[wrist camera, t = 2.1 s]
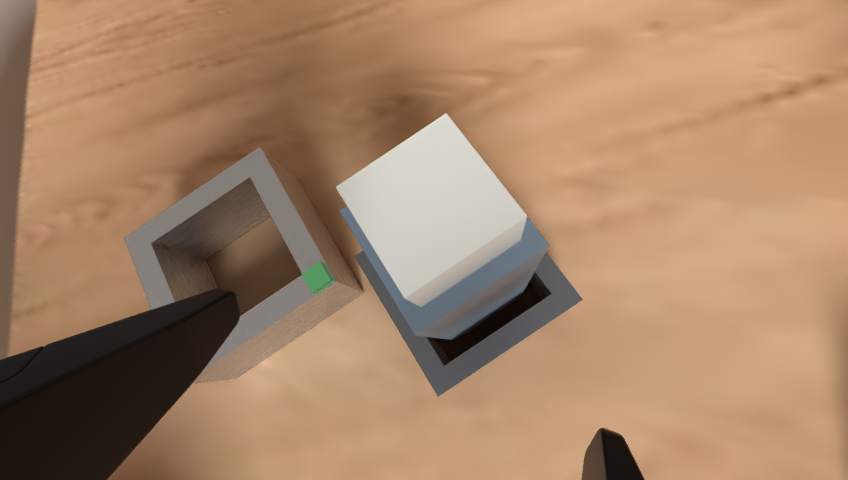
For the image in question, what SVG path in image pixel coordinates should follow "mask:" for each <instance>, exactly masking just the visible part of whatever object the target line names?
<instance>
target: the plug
mask: <svg viewBox="0 0 848 480" xmlns="http://www.w3.org/2000/svg"><path fill="white" fill-rule="evenodd" d="M336 189H337V190H338V192H339V193H340V195H341V197H342V198H343V200H344V202H345V203H346V205H347V206H346V207H344V208H343V209H341V210H340V213H341V214H342V216H343V218H344V219H345V221H346V222H347V224H348V226H349V227H350V229H351V231H352V232H353V234H354V236H355V237H356V239H357V241H358V242H359V244H360V245H361V247H362V249H363V250H364V252H365V254H366V255H367V257H368V259H369V260H370V262H371V264H372V265H373V267H374V269H375V270H376V272H377V273H378V275H379V277H380V278H381V280H382V282H383V283H384V285H385V287H386V288H387V290H388V292H389V293H390V295H391V297H392V298H393V300H394V301H395V303H396V305H397V306H398V308H399V310H400V311H401V313H402V315H403V316H404V318H405V320H406V321H407V323H408V325H409V326H410V328H411V329H412V331H413V333H414V334H415V336H423V337H431V338H440V339H448V340H457V339H458V338H460V337H461V336H463V335H464V334H466V333H467V332H469V331H470V330H472V329H473V328H475V327H476V326H478V325H479V324H481V323H482V322H484V321H485V320H487V319H488V318H490V317H491V316H493V315H494V314H496V313H497V312H498V311H500V310H501V309H503V308H504V307H506V306H507V305H509V304H510V303H512V302H513V301H515V300H516V299H518V298H519V297H521V295H522V293H523V292H524V290H525V288H526V286H527V285H528V283H529V281H530V279H531V278H532V276H533V274H534V272H535V270H536V269H537V267H538V265H539V263H540V262H541V260H542V258H543V256H544V255H545V253H546V251H547V249H548V248H549V246H550V245H549V244H548V242H547V241H546V240H545V239H544V237H543V236H542V235H541V234H540V232H539V231H538V230H537V228H536V227H535V226H534V225H533V223H532V222H531V221H530V220H529V218H528V217H527V215H526V214H525V213H524V211H523V210H522V209H521V207H520V206H519V205H518V204H517V202H516V201H515V200H514V199H513V197H512V196H511V195H510V193H509V192H508V191H507V190H506V188H505V187H504V186H503V185H502V183H501V182H500V181H499V180H498V178H497V177H496V176H495V174H494V173H493V172H492V171H491V169H490V168H489V167H488V166H487V164H486V163H485V162H484V160H483V159H482V158H481V157H480V155H479V154H478V153H477V152H476V150H475V149H474V148H473V146H472V145H471V144H470V143H469V141H468V140H467V139H466V138H465V136H464V135H463V134H462V132H461V131H460V130H459V129H458V127H457V126H456V125H455V124H454V122H453V121H452V120H451V119H450V117H449V116H448V115H447V113H445V114H444V115H442V116H441V117H439V118H438V119H436V120H435V121H433V122H432V123H430V124H429V125H427V126H426V127H424V128H423V129H421V130H420V131H419V132H417V133H416V134H414V135H413V136H411V137H410V138H408V139H407V140H405V141H404V142H402V143H401V144H399V145H398V146H396V147H395V148H393V149H392V150H390V151H389V152H387V153H386V154H384V155H383V156H381V157H380V158H378V159H377V160H375V161H374V162H372V163H371V164H369V165H368V166H366V167H365V168H363V169H362V170H360V171H359V172H357V173H356V174H354V175H353V176H351V177H350V178H348V179H347V180H345V181H344V182H342V183H341V184H339V185H338V186H336Z"/></svg>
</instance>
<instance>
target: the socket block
mask: <svg viewBox="0 0 848 480" xmlns="http://www.w3.org/2000/svg"><path fill="white" fill-rule="evenodd" d="M270 216H271V217H272V219H273V221H274V222H275V224H276V226H277V228H278V230H279V232H280V234H281V235H282V237H283V239H284V241H285V243H286V245H287V247H288V248H289V250H290V252H291V254H292V256H293V258H294V260H295V261H296V263H297V265H298V267H299V269H300V271H301V274H302V275H301V276H299V277H298V278H296V279H295V280H293V281H292V282H290V283H289V284H287V285H286V286H284V287H283V288H281V289H280V290H278V291H277V292H275V293H274V294H272V295H271V296H269V297H268V298H267V299H265V300H264V301H262V302H261V303H259V304H258V305H256V306H255V307H253V308H252V309H250V310H249V311H247V312H246V313H244V314H243V315H241V316H240V319H239V322H238V324H237V325H236V327H235V328H234V329H233V331H232V332H231V333H230V335H229V336H228V338H227V339H226V340H225V342H224V343H223V344H222V346H221V347H220V348H219V350H218V351H217V353H216V354H215V355H214V357H213V358H212V359H211V361H210V362H209V364H208V365H207V366H206V367H205V369H204V370H203V371H202V373H201V374H200V375H199V376H198V377H197V379H196V380H195V381H194V382H193V383H192V384H197V383H204V382H212V381H220V380H228V379H235V378H237V377H239V376H240V375H242V374H243V373H245V372H246V371H248V370H249V369H251V368H252V367H254V366H255V365H256V364H258V363H259V362H261V361H262V360H264V359H265V358H267V357H268V356H270V355H271V354H273V353H274V352H276V351H277V350H279V349H280V348H282V347H283V346H285V345H286V344H288V343H289V342H291V341H292V340H294V339H295V338H297V337H298V336H300V335H301V334H303V333H304V332H306V331H307V330H309V329H310V328H312V327H313V326H315V325H316V324H318V323H319V322H321V321H322V320H324V319H325V318H327V317H328V316H330V315H331V314H333V313H334V312H336V311H337V310H339V309H340V308H342V307H343V306H345V305H346V304H348V303H349V302H351V301H352V300H354V299H355V298H357V297H358V296H360V295H361V294H362V293H364V292H363V290H362V288H361V287H360V285H359V283H358V282H357V280H356V278H355V276H354V275H353V273H352V271H351V270H350V268H349V266H348V264H347V263H346V261H345V259H344V258H343V256H342V254H341V253H340V251H339V249H338V247H337V246H336V244H335V242H334V241H333V239H332V237H331V235H330V234H329V232H328V230H327V229H326V227H325V225H324V223H323V222H322V220H321V218H320V217H319V215H318V213H317V211H316V210H315V208H314V206H313V205H312V203H311V201H310V199H309V198H308V196H307V194H306V193H305V191H304V189H303V188H302V186H301V184H300V182H299V181H298V179H297V177H295V176H294V175H293V174H292V173H291V172H289V171H288V170H287V169H286V168H285V167H284V166H282V165H281V164H280V163H279V162H278V161H277V160H275V159H274V158H273V157H272V156H271V155H270V154H268V153H267V152H266V151H265V150H264V149H262V148H261V147H259V148H257V149H256V150H254V151H253V152H251V153H250V154H248V155H247V156H245V157H244V158H242V159H241V160H239V161H238V162H236V163H235V164H233V165H232V166H230V167H229V168H227V169H226V170H224V171H223V172H221V173H220V174H218V175H217V176H215V177H214V178H212V179H211V180H209V181H208V182H206V183H205V184H203V185H202V186H200V187H199V188H197V189H196V190H194V191H193V192H191V193H190V194H188V195H187V196H185V197H184V198H182V199H181V200H179V201H178V202H176V203H175V204H173V205H172V206H170V207H169V208H167V209H166V210H164V211H163V212H161V213H160V214H158V215H157V216H155V217H154V218H152V219H151V220H149V221H148V222H147V223H145V224H144V225H142V226H141V227H139V228H138V229H136V230H135V231H133V232H132V233H130V234H129V235H127V236H126V237H124V240H125V242H126V245H127V247H128V250H129V253H130V255H131V258H132V260H133V263H134V266H135V268H136V271H137V273H138V276H139V278H140V281H141V284H142V286H143V289H144V291H145V294H146V297H147V299H148V302H149V304H150V307H151V310H152V309H155V308H158V307H161V306H164V305H167V304H170V303H173V302H176V301H179V300H182V299H185V298H188V297H191V296H194V295H197V294H200V293H203V292H206V291H209V290H212V289H215V288H218V286H217V284H216V281H215V279H214V277H213V275H212V273H211V270H210V268H209V266H208V264H207V262H206V259H207V258H209V257H210V256H212V255H213V254H215V253H216V252H218V251H219V250H221V249H222V248H224V247H225V246H226V245H228V244H229V243H231V242H232V241H234V240H235V239H237V238H238V237H240V236H241V235H243V234H244V233H246V232H247V231H249V230H250V229H252V228H253V227H255V226H256V225H258V224H259V223H261V222H262V221H264V220H265V219H267V218H268V217H270Z"/></svg>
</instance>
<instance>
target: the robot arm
mask: <svg viewBox="0 0 848 480" xmlns="http://www.w3.org/2000/svg"><path fill="white" fill-rule="evenodd" d="M239 319H240V311H239V306H238V301H237V296H236V294H235V292H233V291H231V290H228V289H225V288H221V287H219V288H215V289H212V290H209V291H206V292H203V293H200V294H197V295H194V296H191V297H188V298H185V299H182V300H179V301H176V302H173V303H170V304H167V305H164V306H161V307H158V308H155V309H152V310H149V311H146V312H143V313H140V314H137V315H134V316H131V317H128V318H125V319H122V320H119V321H116V322H113V323H110V324H107V325H104V326H101V327H98V328H95V329H92V330H89V331H86V332H83V333H80V334H77V335H74V336H71V337H68V338H65V339H62V340H59V341H56V342H53V343H50V344H48V345H46V346H45V347H44V346H41V347H38V348H35V349H32V350H29V351H26V352H23V353H20V354H17V355H14V356H11V357H8V358H5V359H2V360H0V480H107V479H108V478H109V477H110V476H111V475H112V474H113V472H114V471H115V470H116V469H117V468H118V467H119V466H120V464H121V463H122V462H123V461H124V460H125V459H126V458H127V457H128V455H129V454H130V453H131V452H132V451H133V450H134V449H135V448H136V446H137V445H138V444H139V443H140V442H141V441H142V440H143V439H144V437H145V436H146V435H147V434H148V433H149V432H150V431H151V430H152V428H153V427H154V426H155V425H156V424H157V423H158V422H159V420H160V419H161V418H162V417H163V416H164V415H165V414H166V413H167V411H168V410H169V409H170V408H171V407H172V406H173V405H174V404H175V402H176V401H177V400H178V399H179V398H180V397H181V396H182V395H183V393H184V392H185V391H186V390H187V389H188V388H189V387H190V386H191V384H192V383H193V382H194V381H195V380H196V379H197V377H198V376H199V375H200V374H201V373H202V371H203V370H204V369H205V367H206V366H207V365H208V364H209V362H210V361H211V359H212V358H213V357H214V355H215V354H216V353H217V351H218V350H219V348H220V347H221V346H222V344H223V343H224V342H225V340H226V339H227V338H228V336H229V335H230V333H231V332H232V331H233V329H234V328H235V327H236V325H237V324H238V322H239ZM582 480H645V479H644V477H643V475H642V473H641V471H640V469H639V467H638V465H637V463H636V461H635V459H634V457H633V455H632V453H631V451H630V449H629V447H628V445H627V443H626V441H625V439H624V438H623V436H622V435H620V434H619V433H616V432H613V431H611V430H608V429H605V428H600V429H599V430H598V431H597V433H596V435H595V436H594V438H593V440H592V441H591V443H590V445H589V446H588V448H587V450H586V453H585V457H584V464H583V473H582Z"/></svg>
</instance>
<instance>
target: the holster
mask: <svg viewBox="0 0 848 480" xmlns="http://www.w3.org/2000/svg"><path fill="white" fill-rule="evenodd" d="M355 258H356V260H357V261H358V263H359V265H360V266H361V268H362V270H363V271H364V273H365V275H366V276H367V278H368V280H369V282H370V283H371V285H372V287H373V288H374V290H375V292H376V293H377V295H378V297H379V298H380V300H381V302H382V303H383V305H384V307H385V308H386V310H387V312H388V313H389V315H390V317H391V318H392V320H393V322H394V324H395V325H396V327H397V329H398V330H399V332H400V334H401V335H402V337H403V339H404V340H405V342H406V344H407V345H408V347H409V349H410V350H411V352H412V354H413V355H414V357H415V359H416V360H417V362H418V364H419V365H420V367H421V369H422V371H423V372H424V374H425V376H426V377H427V379H428V381H429V382H430V384H431V386H432V387H433V389H434V391H435V392H436V394H437V396H440V395H441V394H443V393H444V392H446V391H447V390H449V389H450V388H452V387H453V386H455V385H456V384H458V383H459V382H461V381H462V380H464V379H465V378H467V377H468V376H470V375H471V374H472V373H474V372H475V371H477V370H478V369H480V368H481V367H483V366H484V365H486V364H487V363H489V362H490V361H492V360H493V359H495V358H496V357H498V356H499V355H501V354H502V353H504V352H505V351H507V350H508V349H510V348H511V347H513V346H514V345H516V344H517V343H519V342H520V341H522V340H523V339H525V338H526V337H528V336H529V335H531V334H532V333H534V332H535V331H537V330H538V329H540V328H541V327H543V326H544V325H546V324H547V323H548V322H550V321H551V320H553V319H554V318H556V317H557V316H559V315H560V314H562V313H563V312H565V311H566V310H568V309H569V308H571V307H572V306H574V305H575V304H577V303H578V302H580V301H581V300H583V299H582V298H581V297H580V295H579V294H578V293H577V292H576V290H575V289H574V288H573V286H572V285H571V284H570V283H569V281H568V280H567V279H566V277H565V276H564V275H563V274H562V272H561V271H560V270H559V268H558V267H557V266H556V265H555V263H554V262H553V261H552V259H551V258H550V257H549V256H548V254H547V253H545V255H544V256H543V258H542V260H541V262H540V263H539V265H538V267H537V269H536V270H535V272H534V274H533V276H532V278H531V279H530V281H529V282H530V284H531V285H532V286H533V288H534V289H535V290H536V292H537V293H538V294H539V296H540V297H541V298H542V301H540V302H539V303H537V304H536V305H534V306H533V307H531V308H530V309H528V310H527V311H525V312H524V313H522V314H521V315H519V316H518V317H516V318H515V319H513V320H512V321H510V322H509V323H507V324H506V325H504V326H503V327H501V328H500V329H498V330H497V331H495V332H494V333H493V334H491V335H490V336H488V337H487V338H485V339H484V340H482V341H481V342H479V343H478V344H476V345H475V346H473V347H472V348H470V349H469V350H467V351H466V352H464V353H463V354H461V355H460V356H458V357H457V358H455V359H454V360H452V361H451V362H450V360H449V359H448V357H447V356H446V354H445V352H444V351H443V349H442V348H441V346H440V344H439V343H438V341H437V340H436V338H431V337H423V336H415V334H414V333H413V331H412V329H411V328H410V326H409V325H408V323H407V321H406V320H405V318H404V316H403V315H402V313H401V311H400V310H399V308H398V306H397V305H396V303H395V301H394V300H393V298H392V297H391V295H390V293H389V292H388V290H387V288H386V287H385V285H384V283H383V282H382V280H381V278H380V277H379V275H378V273H377V272H376V270H375V269H374V267H373V265H372V264H371V262H370V260H369V259H368V257H367V255H366V254H365V252H364V250H363V251H362V252H360V253H359V254H357V255H356V256H355Z"/></svg>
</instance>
